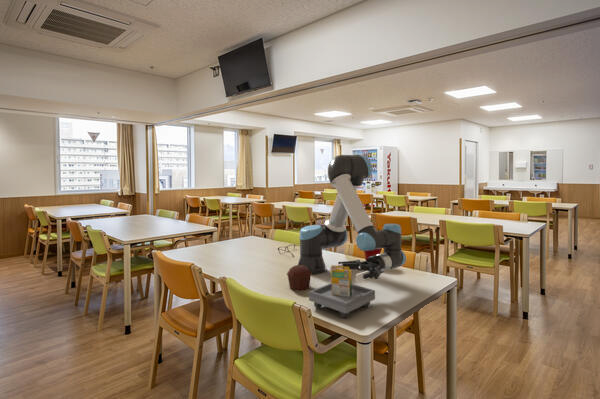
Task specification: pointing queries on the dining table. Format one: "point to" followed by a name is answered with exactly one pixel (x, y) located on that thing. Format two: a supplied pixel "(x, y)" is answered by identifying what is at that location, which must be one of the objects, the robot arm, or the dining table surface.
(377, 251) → the plastic cup
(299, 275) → the muffin
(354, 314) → the dining table surface
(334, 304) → the grey footed tray
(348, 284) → the crayon box
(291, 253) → the eyeglasses
